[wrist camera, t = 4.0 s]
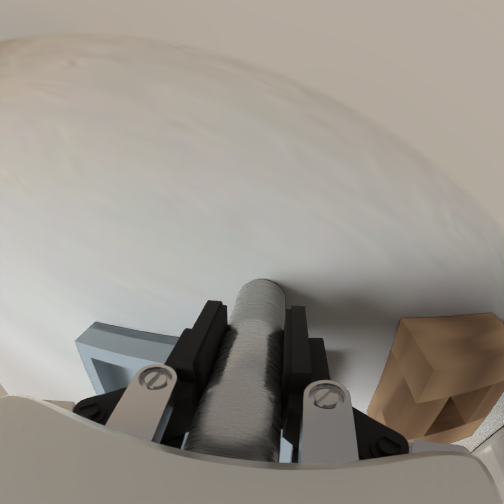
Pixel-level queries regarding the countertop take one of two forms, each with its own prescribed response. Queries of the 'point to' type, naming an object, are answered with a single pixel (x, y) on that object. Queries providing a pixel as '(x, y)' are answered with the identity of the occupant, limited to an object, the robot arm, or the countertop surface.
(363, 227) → the countertop surface
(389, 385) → the bore block
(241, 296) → the pin
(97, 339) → the tray
